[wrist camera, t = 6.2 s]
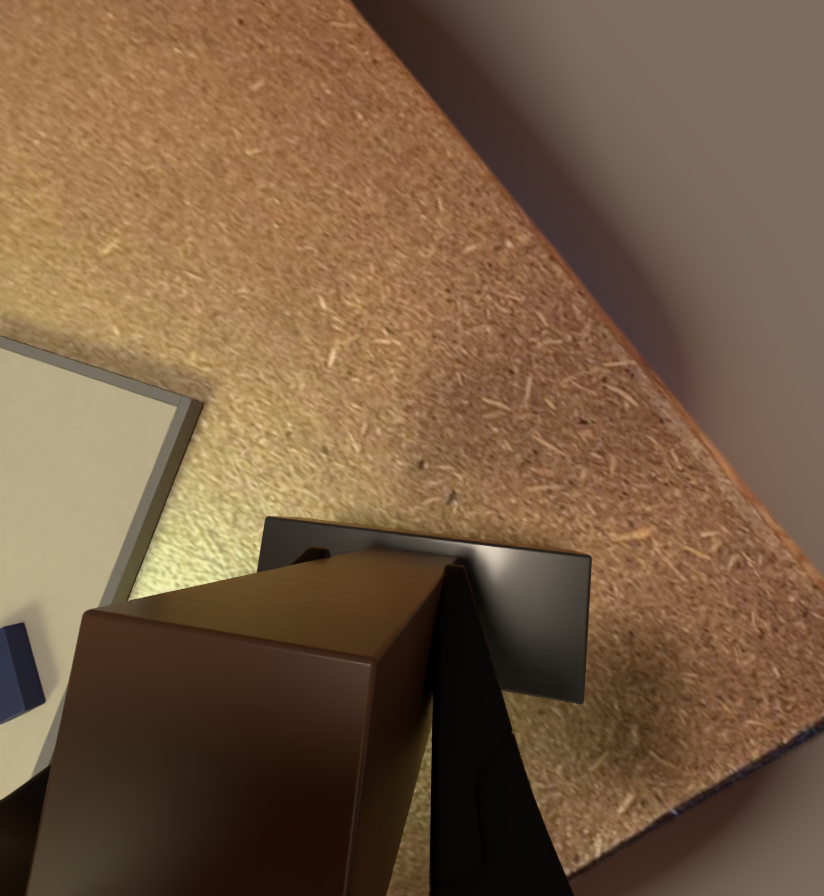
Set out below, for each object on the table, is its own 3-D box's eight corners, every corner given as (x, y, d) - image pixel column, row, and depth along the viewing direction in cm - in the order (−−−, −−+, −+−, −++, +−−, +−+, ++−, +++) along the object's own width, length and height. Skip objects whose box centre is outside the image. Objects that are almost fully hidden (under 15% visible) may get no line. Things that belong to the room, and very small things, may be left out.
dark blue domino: (46, 702, 22) (25, 711, 21) (11, 720, 22) (-11, 729, 21) (24, 621, 22) (3, 626, 22) (-10, 638, 23) (-32, 644, 22)
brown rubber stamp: (568, 676, 15) (1044, 1555, 2) (279, 628, 17) (-388, 970, 4) (576, 550, 15) (989, 675, 3) (295, 516, 17) (-240, 499, 4)
